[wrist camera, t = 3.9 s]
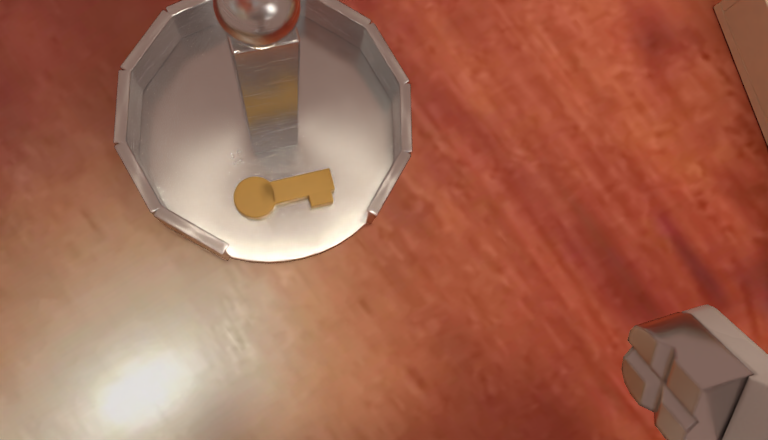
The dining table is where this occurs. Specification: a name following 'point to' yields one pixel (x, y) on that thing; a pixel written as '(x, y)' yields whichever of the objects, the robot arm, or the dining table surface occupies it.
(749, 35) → the cream tray
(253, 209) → the brass key
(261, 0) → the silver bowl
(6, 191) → the dining table surface
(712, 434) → the robot arm
